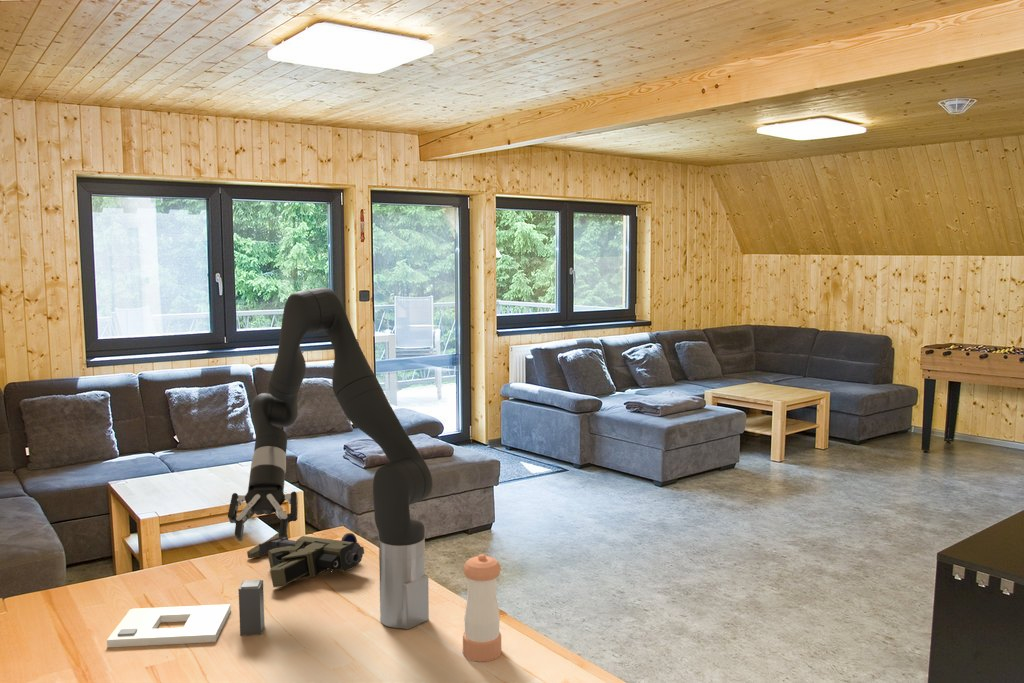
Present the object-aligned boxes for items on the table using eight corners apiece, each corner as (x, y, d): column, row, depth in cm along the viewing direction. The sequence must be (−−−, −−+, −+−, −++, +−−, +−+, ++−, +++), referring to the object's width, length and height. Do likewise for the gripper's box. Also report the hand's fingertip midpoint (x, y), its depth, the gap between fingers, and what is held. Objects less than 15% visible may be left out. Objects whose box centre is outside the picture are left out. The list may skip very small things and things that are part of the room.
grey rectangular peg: (264, 625, 170) (263, 578, 169) (261, 634, 166) (259, 586, 165) (244, 626, 170) (242, 579, 169) (240, 635, 166) (238, 587, 165)
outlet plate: (230, 610, 177) (230, 602, 177) (215, 642, 163) (215, 632, 163) (131, 615, 174) (130, 606, 174) (107, 647, 161) (106, 638, 160)
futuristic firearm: (302, 572, 180) (381, 531, 200) (212, 557, 198) (293, 521, 218) (307, 604, 181) (386, 560, 201) (217, 586, 199) (298, 548, 219)
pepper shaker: (476, 640, 164) (476, 545, 162) (508, 649, 160) (508, 552, 158) (455, 655, 158) (454, 557, 156) (488, 665, 154) (487, 564, 152)
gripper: (232, 463, 184) (222, 532, 174) (298, 462, 186) (292, 529, 176) (237, 480, 190) (228, 547, 180) (302, 478, 192) (296, 545, 182)
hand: (260, 538), depth 178 cm, fingers open, 8 cm apart
